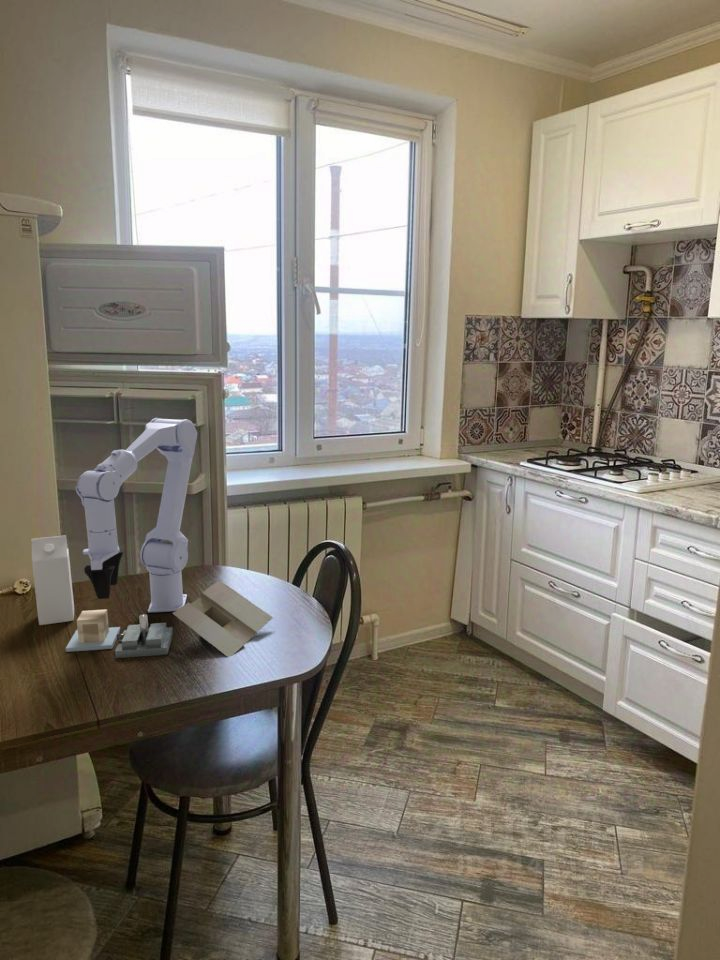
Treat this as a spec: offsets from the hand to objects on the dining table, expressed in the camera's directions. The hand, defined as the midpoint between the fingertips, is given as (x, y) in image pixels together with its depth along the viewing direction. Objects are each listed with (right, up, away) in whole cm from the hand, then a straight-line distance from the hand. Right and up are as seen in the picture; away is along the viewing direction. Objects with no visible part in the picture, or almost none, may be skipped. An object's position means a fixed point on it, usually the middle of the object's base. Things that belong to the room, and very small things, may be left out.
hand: (107, 591), depth 146 cm
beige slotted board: (+24, -10, +2) cm, 27 cm away
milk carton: (-16, -8, +12) cm, 22 cm away
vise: (+8, -11, -2) cm, 14 cm away
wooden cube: (-3, -10, 0) cm, 10 cm away
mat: (-3, -10, 0) cm, 11 cm away
